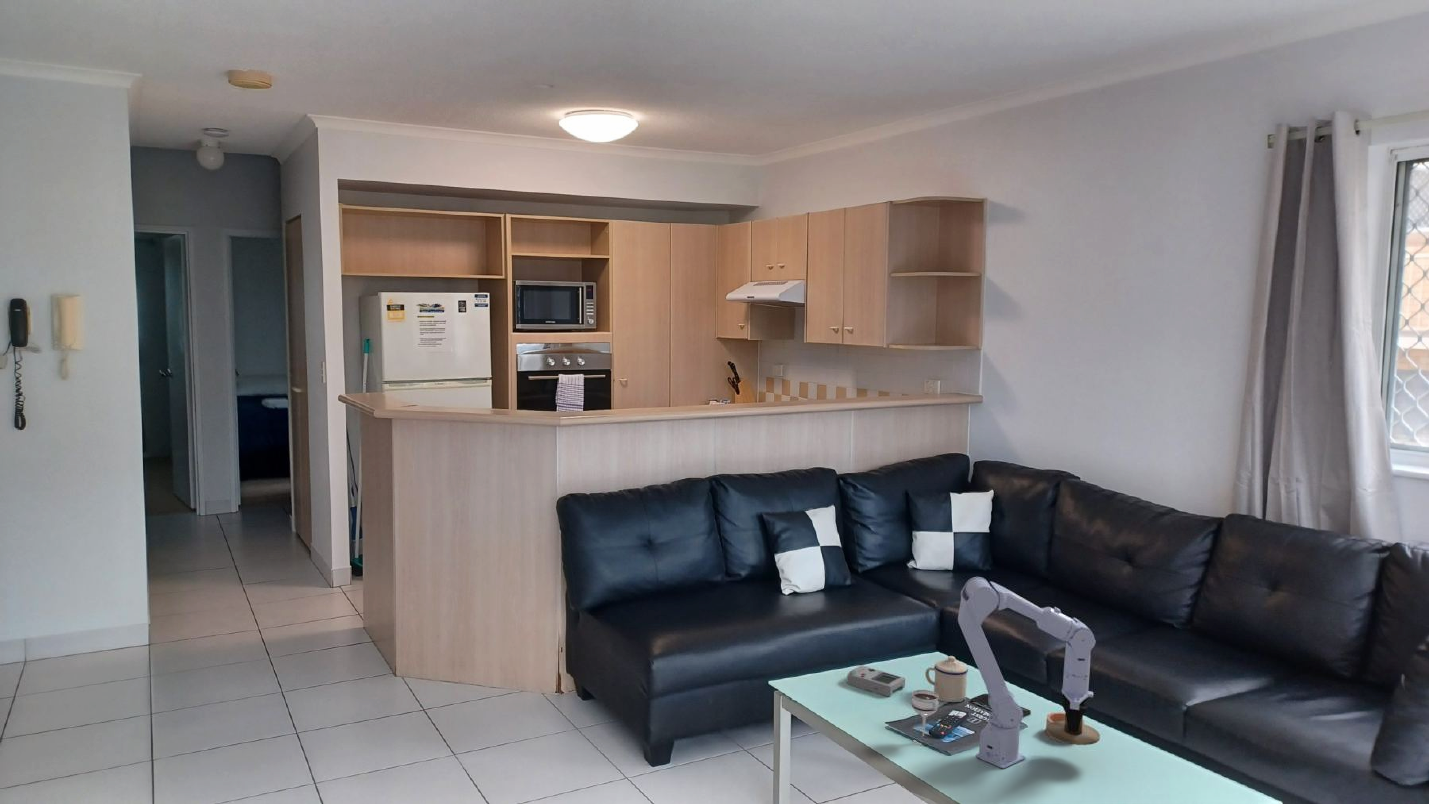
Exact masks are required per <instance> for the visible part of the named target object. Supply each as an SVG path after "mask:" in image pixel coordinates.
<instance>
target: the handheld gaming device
mask: <svg viewBox="0 0 1429 804" xmlns="http://www.w3.org/2000/svg"><path fill="white" fill-rule="evenodd" d="M846 679H847V680H846V683H847V685H849V686H853V687H856V688H858V689H862V690H866V691H868V692H872V693H876V694H879V695H882V696H886V697H891V696H893V691H895V690H897V689H899V690H903V689H905V686H906V678H905V677H903V676H899V675H896V674H893V673H890V672H886V671H882V670H879V669H876V668H871V667H869V666H865V665H862V664H861V665H859V666H856V667H855V668H853V669H852V670H850V671H849V672H848V673H847V676H846Z"/></svg>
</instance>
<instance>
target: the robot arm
mask: <svg viewBox="0 0 1429 804" xmlns="http://www.w3.org/2000/svg"><path fill="white" fill-rule="evenodd" d="M959 603H960V604H959V609H958V610H959V611H958V616H957V622H958V624H959V627H960V629H961V631H962V634H963V637H964V639H965V641H966V643H967V645H968V648H969V650H970V653H971V655H972V657H973V659H974V662H975V664H976V666H977V669H978V672H979V673H980V675H981V679H982V680H983V683H984V685H985V689H986V691H987V694H989V698H988V702H989V705H990V707H991V708H992V711H990V715H989V716H988V723H987V724H986V726H985V727H984V728H982V729H981V731H980V734H979V747H978V748H979V749H978V753H976V754H975V757H976V758H978V759H981V760H983V761H985V762H986V763H987V762H988V763H990V764H992V765H994V766H997V767H998V768H1001V769H1006V768H1008V767H1010V766H1012V765H1014V764H1016V763H1019V762H1021V761H1023V760H1025V759H1026V755H1024V754H1021V753H1019V752H1020V751H1019V749H1020V733H1021V722H1022V721H1023V719H1024V718H1023V717H1024V716H1023V711H1022V709H1021V707H1022V706H1021V705H1019V703H1018V702H1017V700H1016V699H1015V696H1014V694H1013V693H1012V691H1011V690H1009V687H1008V686H1007V684H1006V681H1005V679H1004V677H1003V675H1002V672H1001V669H1000V667H999V665H998V663H997V660H996V658H995V655H994V654H993V650H992V649H991V647H990V644H989V642H988V640H987V638H986V635H985V633H984V630H983V628H982V624H983V622H984V620H985V619H986V618H987V617H988V616H989V615H990V614H991V613H992V612H994V611H995V610H996V609H997V610H998V611H1002V610H1004V609H1011V610H1012V611H1015V612H1016V613H1019V614H1021V615H1022V616H1025V617H1026V618H1027V617H1028V618H1030V619H1032V620H1033V621H1035V623H1036V626H1037V628H1038V629H1039V630H1041V631H1043V632H1044V633H1047V634H1049V635H1051V636H1053V637H1055V638H1057V639H1058V640H1061V641H1063V642H1065V653H1064V664H1063V665H1064V666H1063V678H1062V679H1063V682H1062V688H1061V693H1062V697H1063V699H1064V700H1061V706H1062V708H1063V711H1064V713H1065V714H1066V719H1067V727H1068V731H1071V732H1078V729H1079V726H1080V722H1081V719H1082V716H1083V717H1084V714H1085V713H1086V711H1087V709H1088V705H1086V704H1085V703H1086V701H1088V698H1094V692H1093V691H1091V690H1090V691H1089V687H1090V686H1089V684H1090V671H1091V670H1090V669H1091V668H1090V667H1091V651H1092V649H1093V648H1094V647H1095V645H1096V642H1097V641H1096V639H1095V635H1094V633H1093V632H1092V630H1091V629H1090V628H1089V627H1088V626H1087V625H1086V624H1085V623H1083V622H1081V620H1080V619H1077V618H1076V617H1072V618H1071V617H1069V616H1067V615H1065V614H1063V613H1062V611H1061V609H1060V608H1058V607H1056V606H1054V607H1053V608H1052V607H1050V606H1046V607H1039V606H1038V605H1036V604H1034V603H1032V602H1031V601H1029V600H1027V599H1025V598H1024V597H1021V596H1020V595H1018V594H1016V593H1015V592H1013V591H1012V590H1009V589H1007V588H1006V587H1005V586H1002V585H1000V584H998V583H996V582H994V581H988V580H987V579H986V578H984V577H980V576H975V577H971V578H969V579H968V580H967V581H966V583H965V584H964V586H963V588H962V589H961V591H960V602H959ZM1020 706H1021V707H1020Z"/></svg>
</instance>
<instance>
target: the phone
mask: <svg viewBox="0 0 1429 804" xmlns="http://www.w3.org/2000/svg"><path fill="white" fill-rule="evenodd" d="M988 698H989V694H988V693H983V694H980V695H977V696H973V697H971V698H970V702H971V701H972V702H977V703H979V704H981V705H986V706H987V707H989V708H990V709H992V708H991V707H990V705H989V702H988ZM1019 706H1020V707H1021V709H1022V711H1023V717H1024V718H1026V717H1028V716H1031V714H1032V711H1031V710H1030V709H1028V708H1025V707H1023V706H1021V705H1019Z"/></svg>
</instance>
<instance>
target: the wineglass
mask: <svg viewBox="0 0 1429 804" xmlns="http://www.w3.org/2000/svg"><path fill="white" fill-rule="evenodd" d="M911 695H912V697H911V699H910V700H911V701H910V704H911V707H912V709H913V711H914V712H915V713H916V714H918V715H920V716H921V718H922V737H923V736H924V737H925V731H926V720H927V718H928V717H929V716H933V715H934V714H935V713H936V712H937V711H938V709H939V704H940V702H939V700H938V698H939V695H938V694H937V693H935V692H934V690H933V691H932V690H927V689H916V690H913V691H911ZM912 741H913V743H915V744H916V745H919V746H924V745H922V744H921V743H919V742H917V741H916V740H913V739H912ZM924 747H925V746H924Z"/></svg>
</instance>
